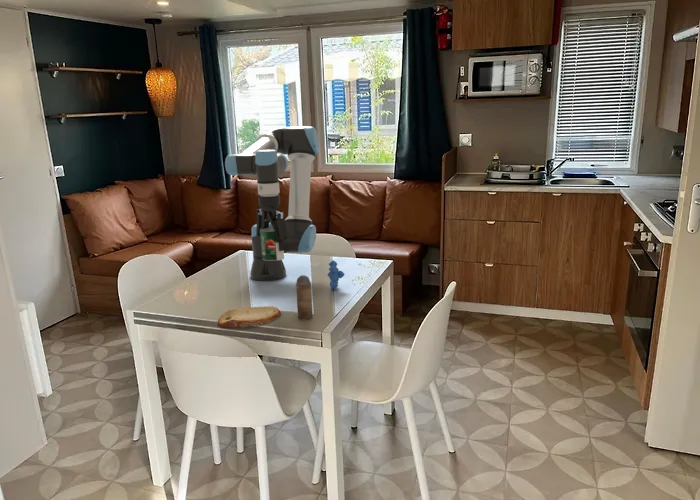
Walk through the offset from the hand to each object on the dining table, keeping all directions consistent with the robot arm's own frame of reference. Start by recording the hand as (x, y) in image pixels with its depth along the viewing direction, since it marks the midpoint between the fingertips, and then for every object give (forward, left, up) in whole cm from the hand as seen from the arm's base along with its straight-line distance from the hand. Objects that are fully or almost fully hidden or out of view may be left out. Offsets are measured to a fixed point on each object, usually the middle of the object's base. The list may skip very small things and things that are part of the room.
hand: (273, 257), depth 202 cm
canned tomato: (0, 0, -1) cm, 1 cm away
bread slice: (+7, -17, -18) cm, 25 cm away
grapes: (+6, +25, -17) cm, 31 cm away
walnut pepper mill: (+20, -3, -17) cm, 26 cm away
